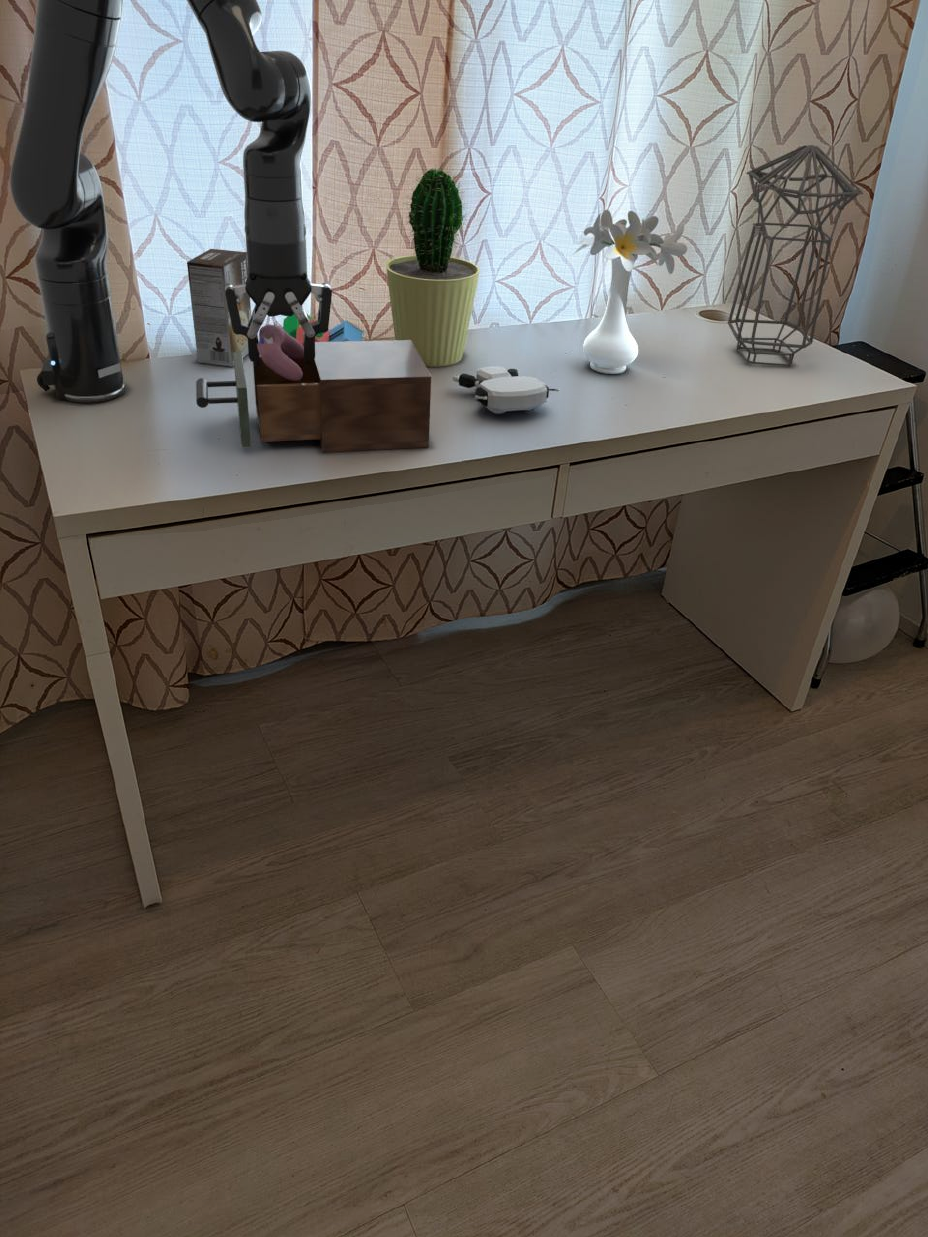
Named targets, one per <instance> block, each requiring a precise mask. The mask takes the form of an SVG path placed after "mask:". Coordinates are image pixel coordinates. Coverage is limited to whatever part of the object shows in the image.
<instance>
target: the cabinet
mask: <svg viewBox="0 0 928 1237" xmlns="http://www.w3.org/2000/svg"><path fill="white" fill-rule="evenodd" d="M313 362H314V365H315V369H316V372H317V375H318V379H319V382H320V400H321V434H322V439H318V440H319V443H320V447H321V452H322V453H336V452H337V453H338V452H355V451H357V452H358V451H378V450H399V449H400V450H402V449H421V448H429V447H430V426H431V422H430V421H431V397H432V374H431V373H430V371H429V370H428V368H427V366H425V364H424V362H423V361H422V359H421V357H420V355H419V353H418V352H417V350H416V348H415V346H414V344H413V343H412V341H411V340H395V339H394V340H362V341H343V342H315V358H314V360H313Z"/></svg>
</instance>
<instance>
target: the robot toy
mask: <svg viewBox="0 0 928 1237" xmlns="http://www.w3.org/2000/svg"><path fill="white" fill-rule="evenodd" d="M518 371H519V370H518V369H516V368H508V369H506V368H504V367H503V366H499V365H498V366H497V365H496V366H495V365H494V366H483V367H480V368H477V369H476V376H475V375H472V374H467V373H461V374H456V375H454V376H452V381H453V382H455V383H458V386H459V387H463V388H467V389H472V388H475V387H476V389H475V395H474V400H476V401H477V402H478V403H479V404H481V405H482V406H483V407H485V408H487V409H488V411H490V412H491V413H493V414H496V415H501V414H505V413H506V412H513V411H531V410H533V409H535V408H540V407H542V405H544V404H545V403H547V400H548V398H549V396H550V392H551V391H552V392H560V388H550V387H549V386H548V385H547V384H546V383H544V382H543V381H542V380H539V379H538V378H536V377H532V376H524V375H523V376H521V375H520V376H519V372H518Z"/></svg>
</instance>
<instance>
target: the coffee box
mask: <svg viewBox="0 0 928 1237" xmlns="http://www.w3.org/2000/svg"><path fill="white" fill-rule="evenodd" d="M186 266H187V275H188V284H189V293H190V302H191V312H192V313H191V314H192V321H193V330H194V340H195V349H196V359H197V363H199V364H200V363H201V364H208V365H215V366H224V367H231V368H234V357H233V352H242V357H243V359H244V358H245V357H246V356H248V355H249V353H248V339H247V337H246V336H244V335H241V334H239V335H237V334H235V333H234V332H233V328H232V323H231V318H230V314H229V309H228V304H227V299H226V295H225V285H226V284H229V283H230V284H232V285H241V284H245V283H246V280H247V278H248V264H247V251H239V250H238V251H237V250H229V249H217V248H209V249H207V250H206V251H204V252H202V253H200V254H199V255H197V256H195V257H194V258H192V259H190V260H188V261H187V262H186ZM237 304H238V309H239V314H240V319H241V322H243V323H246V324H248V322H249V320H250V318H251V316H252V305H251V298H250V297H249V295H248V294H247V293H245V294H244V295H243V297H242V302H240V303H237Z"/></svg>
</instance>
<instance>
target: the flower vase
mask: <svg viewBox="0 0 928 1237" xmlns="http://www.w3.org/2000/svg"><path fill="white" fill-rule="evenodd" d="M641 219H642V220H641ZM641 219H640V217H639V215H638V214H637V213H636V212H635V211H633V210H629V211H628V212H627V219H625V218H623V219H619V220H618V221H616V222H615V223H613V216H612V212H611V211H610V210H608V209H605V210H604V211H603V212H602V213H601V212H600V213H599V214H598V215H597V217H596V219H595V221H594V223H593V226H589V227H586V228H585V229H584V230H583V235H584V237H583V238H582V240H581V241H580V242H579V245H580V246H579V247H578V248H577V249H576V250H575V251H574V253H573V254H572V255H573V256H575V255H576V254H577V253H579V252H581V251H583V250H585V249H587V248H589V247H591V248H590V251H589V254H590V255H591V256H595V255H597V254H600V252H601V251H602V250H604V249H605V248H606V249H605V250H604V251H603V258H604V259H605V260H610V261H611V278H610V286H609V287H610V288H609V291H608V296H607V303H606V308H605V312H604V314H603V316H602V319H601V321H600V323H599V324H598V326H597V327H596V328H595V329H593V330H592V331H591V332H590V333H589V334H588V335H587V337H586V338H585V339H584V342H583V343H582V344H583V345H582V351H583V355H584V356H585V357H586V359H587V360H588V361H589V366H590V368H591V369H592V370H593V371H595V372H598V373H601V374H608V375H617V374H618V375H619V374H622V373H624V372H625V371H626V370H627V366H628V365H630V364H631V363H633V362H634V360H636V358H637V357H638V356H639V346H638V342H637V340H636V338H635V336H634V335H633V334H632V332H631V331H630V329H629V325H628V321H627V303H628V296H629V294H628V293H629V286H630V280H631V275H632V272H633V270H634V267H635V264H636V261H637V260H638V257H639V256H643V255H644V256H646V257H648V258H649V259H650V260H651V261H652V262H653V263H655V264H656V265H657V266H659V267H662V266H663V265H664V263H665V266H666V269H667V272H668V274H669V275H672V274H673V273H674V270H675V258H674V257H681V256H684V255H685V254H686V253H687V252H688V246H687V245H686V243H683V242H678V241H679V240H680V239H681V237H682V236H683V234H684V232H685V225H683V224H682V225H680V226H679V227H678V228H677V229H676V230H675V231H674V232H673V234H671V233H670V232H667V233H666V234H665V235H664V238H663V237H662V236H660V235H659V234H656V233H652V232H653V231H654V230H655V229H656V228H657V226H658V224H659V222H660V219H659V217H658V216H656V215H652V216H649V217H647V218H646V219H644V218H641ZM627 220H628V221H627ZM627 224H629V225H628V227H627ZM654 247H657V248H658V249H660V252H659V253H660V254H658V252H657V251H656V249H655V248H654ZM657 260H658V261H657Z"/></svg>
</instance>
